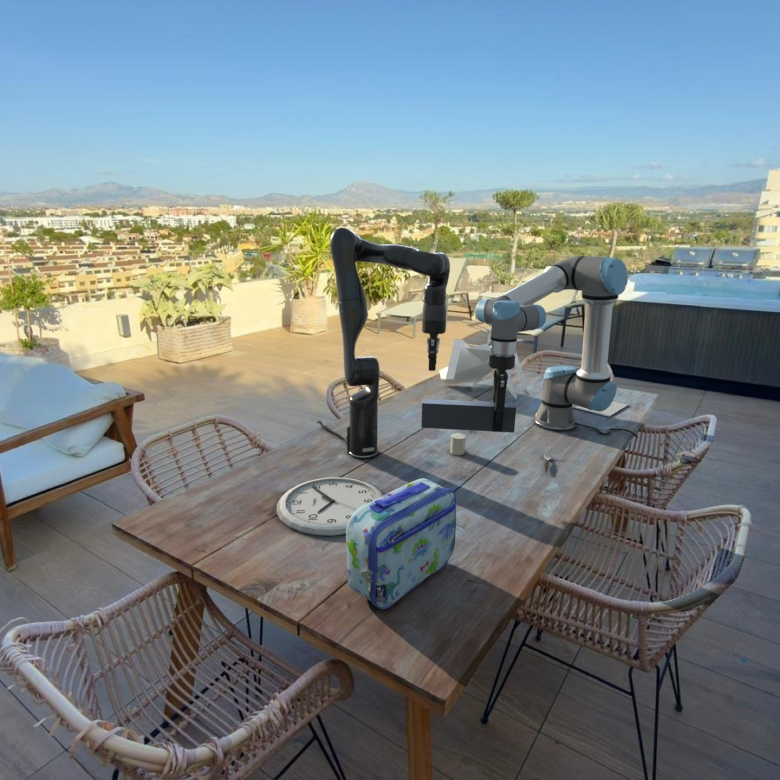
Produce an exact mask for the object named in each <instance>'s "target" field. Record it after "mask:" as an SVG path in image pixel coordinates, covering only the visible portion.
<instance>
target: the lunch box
mask: <svg viewBox="0 0 780 780" xmlns="http://www.w3.org/2000/svg"><path fill="white" fill-rule="evenodd" d="M456 498H457V496H456V493H455V491H454V489H452V488H450V487H443V486H441V485H439V484H438V483H436V482H433V481H432V480H430V479H427V478H423V477H422V478H418V479H416V480H413V481H411V482H409V483H406V484H405V485H402V486H400V487H398V488H396V489H394V490H392V491H390V492H388V493H386V494H384V496H382V497H380V498H378V499H376V500H374V501H372V502H370V503H368V504H366V505H364V506H362V507H360V508H358V509H357V510H356V511H355V512H354V513H353V514H352V515H351V517H350V519H349V521H348V524H347V528H346V534H345V547H346V549H345V550H346V572H347V573H346V575H347V584H348V587H349V589H350V590H351V591H353V592H355V593H357V594H358V595H361V596H363V597H364V598H365V599H367V600H368V601H369V602H371V604H372V605H373V606H374V607H376V608H377V609H380V610H386V609H389V608H391V607H393V605H395V603H397V602H398V601H399V600H400V599H402V598H403V597H404V596H405V595H408V593H410V592H411V591H412V590H413V589H415V588H416V587H417V586H419V585H420V584H421V583H423V581H424V580H425V579H427V578H428V577H430V576H431V575H433V574H435V573H437V572H438V571H439V570H441V569H442V568H443V567H444V566H446V564H447V563H448V562H449V560H450V559H451V556H452V555H453V552H454V548H455V544H456V531H457V530H456V529H457V499H456Z"/></svg>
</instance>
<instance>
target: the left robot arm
mask: <svg viewBox="0 0 780 780" xmlns="http://www.w3.org/2000/svg"><path fill="white" fill-rule="evenodd" d="M329 251H330V254H331V258H332V262H333V267H334V275H335V285H336V292H337V304H338V305H337V306H338V314H339V321H340V327H341V336H342V350H343V351H342V352H343V353H342V354H343V371H344V379H345V383H346V384H347V385H348V386H349V387H363V388H362V389H360V390H359V391H357V392H355V393H353V394H351V395H350V397H349V400H348V402H349V403H348V404H349V425H348V426H347V427H346V436H345V437H343V436H341V434H339V433H338V432H337V431H336V432H335V431H333V430H332V429H329V428H328V427H326V426H325V425H324V424H323V422H322V421H321V420H318V421H316V424H319V425H320V427H321V428H322V429H324V430H325V431H327V432H328V433H330V434H333V435H335V436H336V437H338V438H339V439H340V440H342V441H344V442H345V443H346V450H347V451H346V452H347V454H349V455H350V456H351V457H352V458H354V459H361V460H364V459H371V458H374V457H376V456H377V455H378V424H379V423H378V419H379V418H378V417H379V416H378V415H379V414H378V413H379V411H378V409H379V405H378V404H379V391H380V390H379V389H380V375H381V374H380V373H381V372H380V370H381V369H380V362H379V360H378V358H377V357H375V356H373V355H371V356H370V355H369V356H356V354H355V353H356V345H357V342H358V339H359V338H360V335H361V333H362V331H363V329H364V328H365V325H366V324H367V321H368V318H369V311H368V301H367V296H366V291H365V289H364V287H363V283H362V280H361V278H360V276H359V273H358V270H357V269H358V268H357V265H356V263H370V264H371V263H372V264H378V265H384V266H387V267H392V268H396V269H399V270H400V269H401V270H405V271H412V272H414V273H416V274H418V275H419V274H420V275H422V276H426V277H428V279H427V283H426V285H425V286H424V289H423V304H422V312H421V313H422V317H421V318H422V320H421V332H422V333H423V334H427V335H429V337H428V336H427V338H426V344H427V350H426V351H427V354H428V355H427V358H428V371H430V372H435V371H436V367H437V357H438V356H437V354H438V353H439V348H440V344H441V343H440V342H441V341H440V340H441V337H438V336H439V335H442V334H445V333H446V331H447V328H446V327H447V287H448V283H449V278H450V272H451V262H450V259H449V257H448V255H447V254H445V253H444V252H429V251H423V250H419V249H418V248H415V247H410V246H407V245H400V244H379V243H373V242H370V241H368V240H366V239H363V238H361V237H360V236H359V235H358V234H356V233H355V232H354V231H353V230H351V229H349V228H346V227H338V228H336V229H335V230H334V231H333V232H332V234H331V236H330V240H329Z"/></svg>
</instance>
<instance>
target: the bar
mask: <svg viewBox="0 0 780 780" xmlns="http://www.w3.org/2000/svg"><path fill="white" fill-rule="evenodd" d="M492 409H493V410H494V409H495V402H493V401H482V400H481V401H480V400H461V399H441V398H439V399H438V398H422V402H421V429H436V430H437V429H439V430H457V431H474V432H475V431H476V432H493V431H492V430H493V417H494V412H492ZM504 409H505V411H504V412H503V423H502V432H501V433H512V434H513V433H515V429H516V428H515V427H516V416H517V405H516V403H515V402H505V407H504ZM493 433H494V432H493Z"/></svg>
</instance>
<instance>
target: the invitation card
mask: <svg viewBox="0 0 780 780" xmlns="http://www.w3.org/2000/svg"><path fill="white" fill-rule="evenodd" d="M628 406H629V404H627V403H623V402H618V401H614V400H613V401H612V403H611V404H610V406H609V407H608V408H607V409H605V410H604V411H601V412H599V411H594V410H589V409H587V408H583V407H580V406H577V405H575V406H574V407H573V409H575V410H581V411H584V412H587V413H593V414H596V415H600V416H604V417H608V418H609V417H611V416H613V415H614V414H616V413H617V412H619V411H621V410H623V409H624V408H626V407H628Z"/></svg>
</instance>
